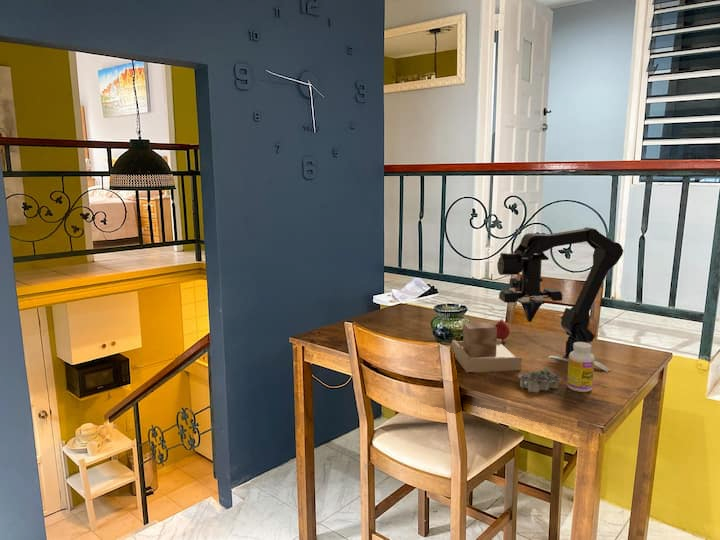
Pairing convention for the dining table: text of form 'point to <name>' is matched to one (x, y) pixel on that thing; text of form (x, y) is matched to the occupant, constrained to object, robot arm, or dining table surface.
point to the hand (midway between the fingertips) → (529, 321)
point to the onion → (502, 330)
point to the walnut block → (479, 339)
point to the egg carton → (539, 380)
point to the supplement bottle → (581, 368)
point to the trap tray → (487, 359)
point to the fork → (594, 362)
